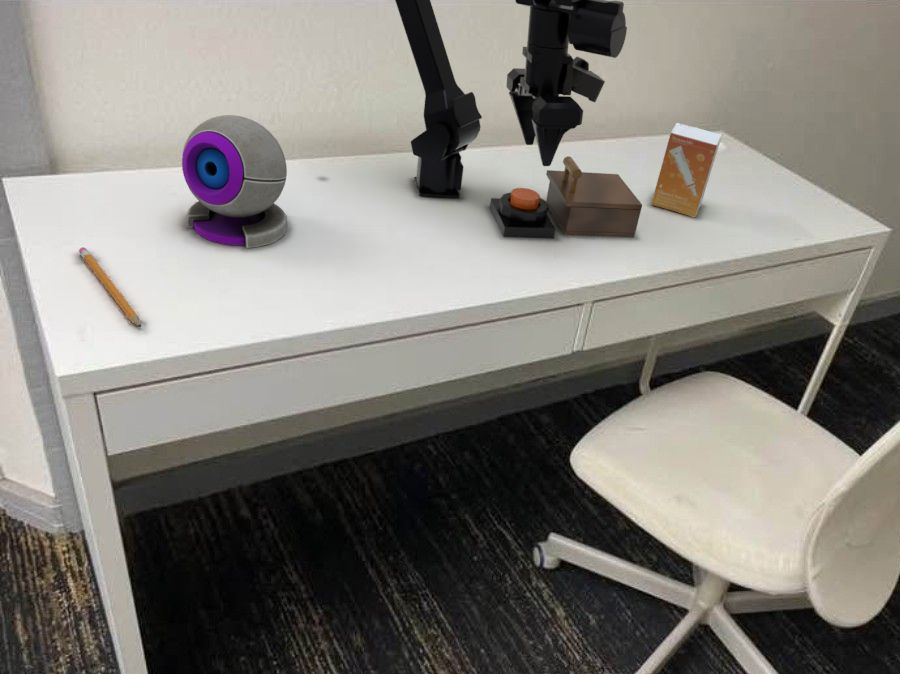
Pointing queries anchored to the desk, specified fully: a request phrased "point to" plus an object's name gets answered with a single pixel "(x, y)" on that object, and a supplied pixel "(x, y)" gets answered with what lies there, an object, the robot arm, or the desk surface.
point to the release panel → (521, 219)
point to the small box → (686, 169)
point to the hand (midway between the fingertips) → (537, 154)
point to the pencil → (110, 286)
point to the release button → (524, 198)
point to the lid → (591, 188)
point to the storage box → (592, 218)
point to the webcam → (235, 182)
